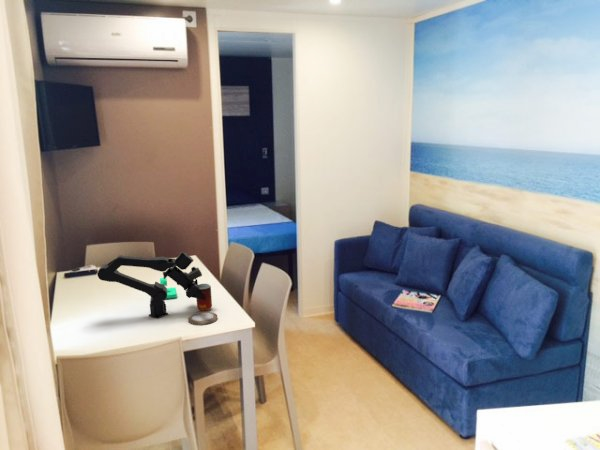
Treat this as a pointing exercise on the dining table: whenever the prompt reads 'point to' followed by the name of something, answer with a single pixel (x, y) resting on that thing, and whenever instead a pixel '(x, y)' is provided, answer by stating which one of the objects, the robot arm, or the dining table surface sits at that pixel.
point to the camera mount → (169, 289)
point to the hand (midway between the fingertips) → (204, 296)
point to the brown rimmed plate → (202, 318)
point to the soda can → (207, 303)
